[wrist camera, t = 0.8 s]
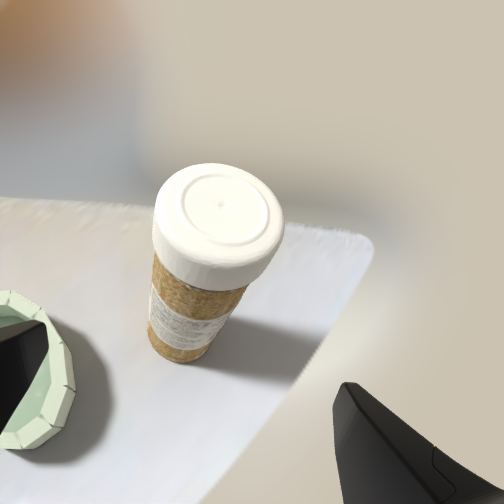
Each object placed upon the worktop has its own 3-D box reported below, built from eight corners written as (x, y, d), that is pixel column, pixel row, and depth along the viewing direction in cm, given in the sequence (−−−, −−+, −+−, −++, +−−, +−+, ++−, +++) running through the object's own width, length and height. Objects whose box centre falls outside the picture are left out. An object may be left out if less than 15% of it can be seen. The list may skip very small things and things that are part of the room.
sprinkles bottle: (180, 290, 23) (223, 143, 12) (225, 335, 22) (312, 217, 12) (132, 329, 20) (127, 192, 10) (179, 379, 20) (227, 294, 9)
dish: (48, 475, 13) (36, 479, 11) (-62, 397, 12) (-80, 391, 10) (96, 343, 19) (90, 332, 17) (-12, 284, 18) (-24, 268, 16)
